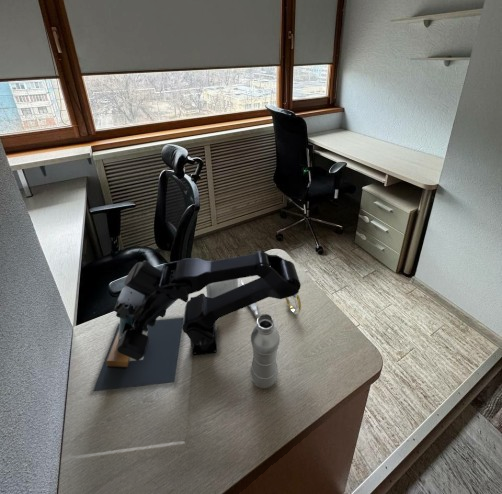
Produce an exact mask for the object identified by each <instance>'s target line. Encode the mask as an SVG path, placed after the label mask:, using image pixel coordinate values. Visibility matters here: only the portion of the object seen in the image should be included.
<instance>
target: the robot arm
mask: <svg viewBox="0 0 502 494" xmlns="http://www.w3.org/2000/svg"><path fill="white" fill-rule="evenodd" d="M172 271H173V276H172V277H171V275H172ZM255 276H257V277H258V278H256V279H253V280H252V281H249V282H246V283H244V285H242V284H241V285H239V286H238V287H237V288H235V289H233V290H230V291H228V292H226V293H223V294H221V295H219V296H217V297H214V298H210V297H207V295H205V293H199V294H198V295H196V296H192V297H190V299H189V295H191V294H195V293H197V292H200V291H202V290H203V289H205V288H206V286H207V285H208V284H211V283H215V282H221V281H227V280H233V279H238V280H239V279H244V278H250V277H255ZM123 283H124V284H123V285H124V287H122V289H121V290H120V292H119V295H118V297H117V300H116V302H115V305H114V308H113V311H114V312H115V313H116V314H115V317H117V318H119V319H120V318H124V319H127V318H129V316H130V315H132V317H131V319H133V322H132V325H130V324H128V323H126V324H125V326H124V329H123V332H122V335H121V337H120V338H119V341H120V342H119V345H118V347H117V350H118V352H119V353H121V354H124V355H126V356H128V357H130V358H133V359H135V360H137V361H138V360H140V359H141V358H142V357H144V356H145V355H146V351H147V347H148V343H149V337H148V336H147V334H148V328H147V325H150V326H152V327H153V326H154V325H155V322H156V320H157V319H158V318H159V317H160V318H164V317H166V313H167V310H168V309H169V308H170V307H171V306H172V305H174V304H175V303H176V302H177V301H178V300H181V301H182V302H184V303H186V304H185V306H184V313H183V325H182V331H183V333H184V334H186V336H187V337H188V338H189V341H190V347H191V348H192V356H195V357H196V356H204V355H213V354H214V355H215V354H217V353H218V329H217V321H218V320H219V319H220V318H223V317H225V316H228V315H230V314H231V313H235V312H237V311H240V310H242V309H244V308H246V307H249V305H251V304H253V303H256V304H257V303H258V302H261V301H263V300H265V299H267V298H273V299H276V300H283V299H285V298H287V297H288V298H291V296H294V295H295V294H297V293H298V294H299V291H300V289H301V286H302V284H301V280H300V279H299V276H298V272H297V270H296V267H295V264H294V263H293V262H292V261H291V260H287V259H285V258H284V257H281V256H279V255H277V254H269V253H267V252H265V251H263V250H257V251H255V252H254V253H251V254H246V255H245V254H244V255H239V256H232V257H227V258H221V259H216V260H215V259H214V260H205V259H202V258H200V257H192V258H191V257H190V258H187V257H186V258H182V259H180V260H175V261H169V262H164V263H163V266H162V268H161V270H160V269H159V268H157V267H156V266H154V265H152V263H150V262H148V261H147V260H143V261H139V262H136V263H135V264H134V266H133V267H132V268H131V269H130V271H129V272H128V273H127V276H126V278H125V279H124V282H123Z"/></svg>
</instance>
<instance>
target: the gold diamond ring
mask: <svg viewBox="0 0 502 494" xmlns="http://www.w3.org/2000/svg"><path fill="white" fill-rule="evenodd" d="M290 298H291V299H292V300H293V301H294V303H295V306H296V309H294V306H293V305H292V304H291V301H290ZM284 299H285V302H286V305H287V307H288V308H289V311H290V312H292V313H293V314H294V315H297V314H299V313H300V312H301V310H302V301H301V297H300V296H299V292H298V293H297V294H295V295H294V296H291V297H287V298H284Z"/></svg>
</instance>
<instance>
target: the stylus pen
mask: <svg viewBox="0 0 502 494" xmlns="http://www.w3.org/2000/svg"><path fill="white" fill-rule="evenodd" d="M240 283H241V284H240V285H241V286H242V285H244V284H245V283H244V282H243V280H242V279H240ZM248 308H249V309H250V310H251V312H253V315H254V316H255V318H258V317H259V316H260V315H259V311H258V306H257V302H256V303H253V304H251V305H249V306H248Z"/></svg>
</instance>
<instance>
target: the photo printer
mask: <svg viewBox="0 0 502 494" xmlns="http://www.w3.org/2000/svg"><path fill="white" fill-rule="evenodd" d="M237 287H239V279H233V280H227V281H221V282H215V283H211V284H208V285H207V286H206V287H205V289H206V290H205V291H206V297H210V298H214V297H217V296H219V295H221V294H223V293H226V292H228V291H230V290H233V289H235V288H237Z"/></svg>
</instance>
